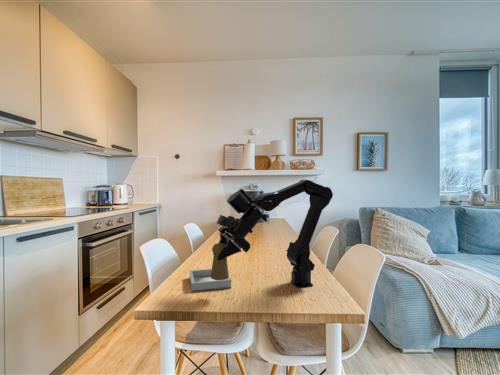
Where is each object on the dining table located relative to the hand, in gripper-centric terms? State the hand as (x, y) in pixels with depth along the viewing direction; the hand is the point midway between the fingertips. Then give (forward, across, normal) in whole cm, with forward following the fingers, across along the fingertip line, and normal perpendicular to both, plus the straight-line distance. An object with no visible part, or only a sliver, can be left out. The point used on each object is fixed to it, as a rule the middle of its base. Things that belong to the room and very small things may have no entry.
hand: (215, 257), depth 82 cm
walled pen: (+9, -13, +10) cm, 19 cm away
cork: (+4, 0, +6) cm, 7 cm away
